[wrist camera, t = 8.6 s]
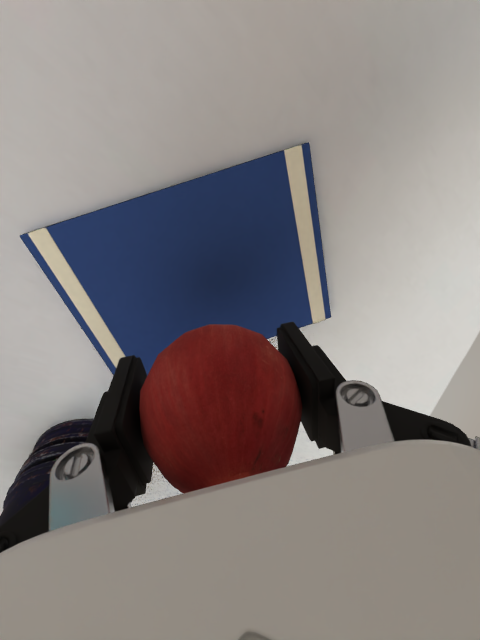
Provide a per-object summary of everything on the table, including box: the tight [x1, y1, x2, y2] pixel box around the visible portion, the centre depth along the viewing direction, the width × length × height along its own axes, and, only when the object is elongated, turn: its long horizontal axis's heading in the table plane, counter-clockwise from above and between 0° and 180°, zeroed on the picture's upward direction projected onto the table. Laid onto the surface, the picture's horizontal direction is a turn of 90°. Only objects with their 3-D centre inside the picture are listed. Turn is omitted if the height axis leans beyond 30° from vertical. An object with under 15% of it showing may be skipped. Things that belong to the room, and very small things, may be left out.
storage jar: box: [0, 419, 132, 526], centre depth 22 cm, size 10×10×15 cm
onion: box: [139, 324, 302, 493], centre depth 10 cm, size 6×6×8 cm
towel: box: [20, 142, 331, 376], centre depth 22 cm, size 20×14×1 cm
